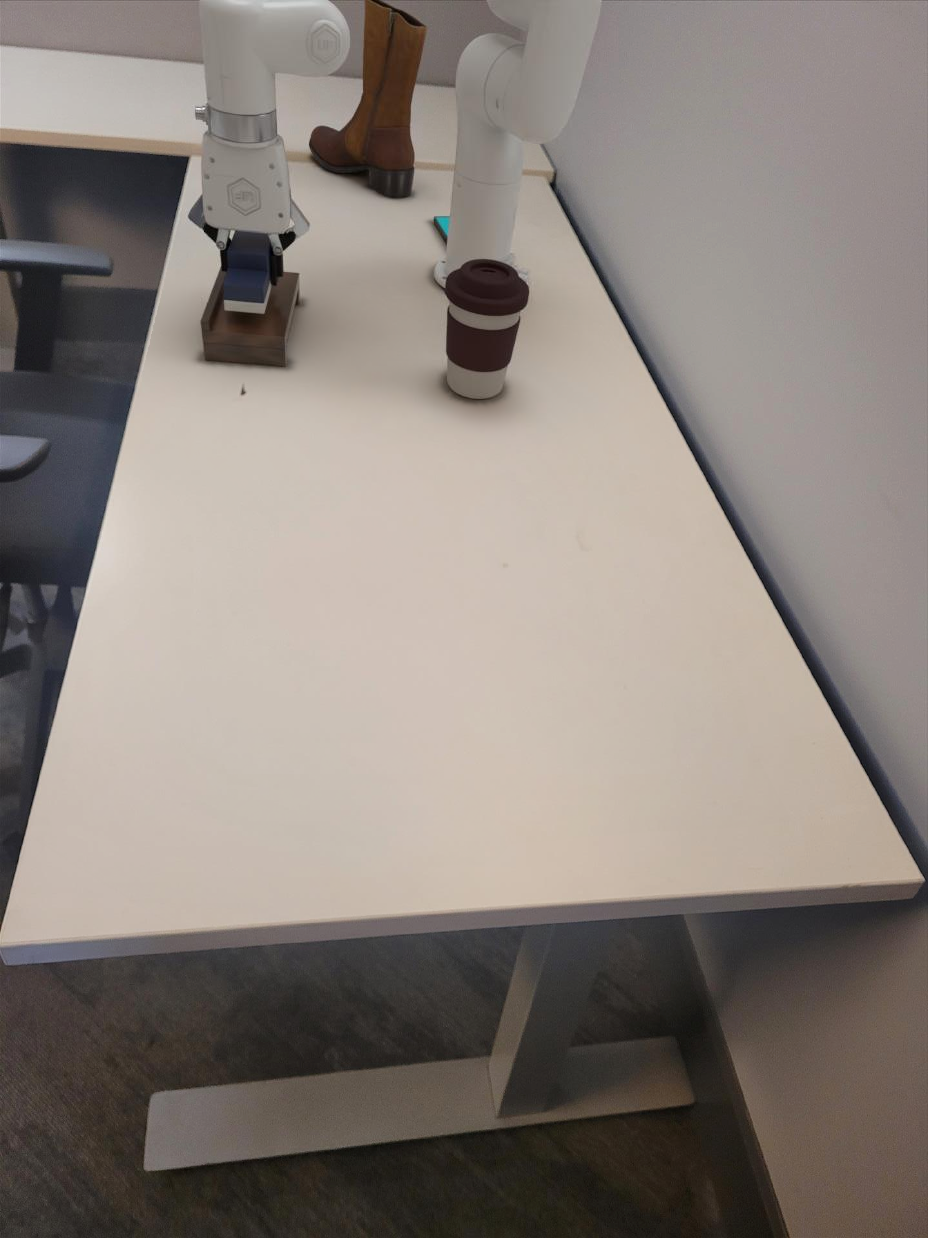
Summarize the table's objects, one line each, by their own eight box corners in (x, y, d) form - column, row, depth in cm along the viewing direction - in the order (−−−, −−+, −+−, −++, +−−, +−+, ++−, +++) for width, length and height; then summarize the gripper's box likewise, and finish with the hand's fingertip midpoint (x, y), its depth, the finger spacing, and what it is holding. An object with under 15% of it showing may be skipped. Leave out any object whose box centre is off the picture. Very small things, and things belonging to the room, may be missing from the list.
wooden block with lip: (299, 300, 120) (298, 263, 116) (285, 366, 107) (284, 328, 104) (227, 293, 119) (224, 256, 115) (204, 360, 106) (200, 321, 103)
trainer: (238, 267, 112) (235, 227, 109) (275, 271, 113) (273, 231, 109) (224, 310, 104) (220, 268, 100) (264, 313, 105) (261, 272, 101)
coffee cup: (488, 415, 105) (505, 299, 94) (421, 386, 108) (430, 270, 97) (526, 383, 111) (546, 270, 100) (461, 356, 114) (475, 244, 103)
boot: (300, 155, 159) (296, -22, 140) (342, 149, 163) (343, -23, 144) (379, 205, 147) (386, 19, 127) (421, 197, 151) (435, 16, 132)
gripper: (159, 124, 93) (180, 285, 106) (315, 142, 95) (317, 298, 108) (173, 104, 98) (191, 260, 111) (321, 120, 100) (322, 272, 113)
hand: (253, 277), depth 110 cm, fingers closed on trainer, 4 cm apart
